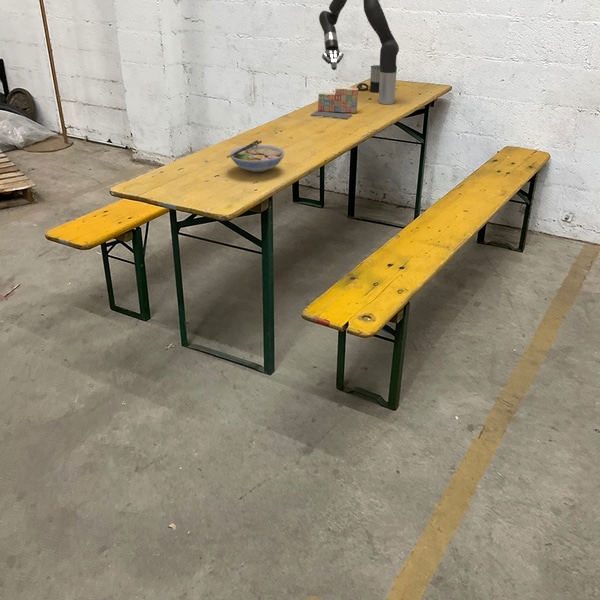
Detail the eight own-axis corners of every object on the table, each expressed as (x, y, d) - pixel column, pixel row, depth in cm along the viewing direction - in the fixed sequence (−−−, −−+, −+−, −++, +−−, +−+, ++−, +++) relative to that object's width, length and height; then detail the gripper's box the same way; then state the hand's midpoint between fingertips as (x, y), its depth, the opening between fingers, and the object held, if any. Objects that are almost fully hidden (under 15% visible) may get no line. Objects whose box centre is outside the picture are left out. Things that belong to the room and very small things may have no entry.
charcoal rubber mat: (316, 112, 343) (316, 111, 342) (352, 115, 335) (352, 114, 335) (310, 115, 335) (310, 114, 335) (347, 119, 328) (347, 118, 328)
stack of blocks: (317, 111, 341) (318, 88, 335) (318, 109, 346) (319, 86, 341) (356, 113, 339) (358, 89, 334) (357, 110, 345) (358, 87, 339)
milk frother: (386, 92, 386) (387, 67, 378) (361, 93, 383) (363, 68, 376) (378, 87, 398) (380, 63, 390) (355, 89, 395) (356, 64, 388)
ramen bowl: (265, 183, 243) (264, 162, 239) (217, 174, 253) (216, 154, 249) (296, 165, 262) (296, 146, 258) (251, 157, 272) (250, 139, 268)
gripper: (320, 38, 351) (323, 65, 347) (343, 38, 353) (347, 64, 348) (319, 47, 358) (322, 73, 354) (341, 46, 360) (344, 72, 355)
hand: (334, 69), depth 351 cm, fingers closed
